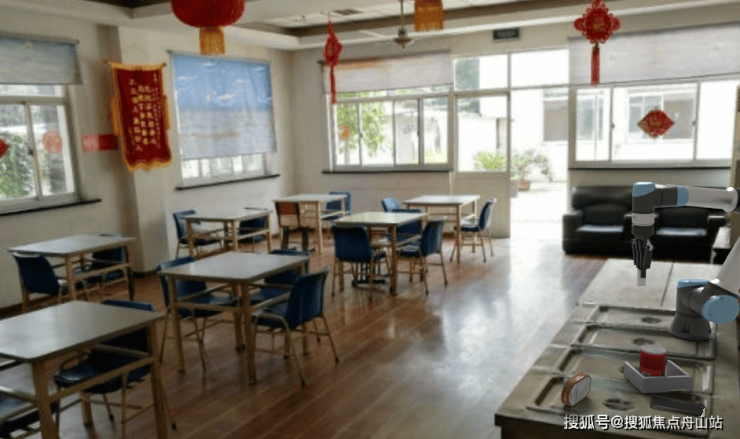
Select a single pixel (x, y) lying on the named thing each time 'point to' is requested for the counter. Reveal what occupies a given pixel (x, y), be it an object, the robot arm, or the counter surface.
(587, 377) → the tin
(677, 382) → the box
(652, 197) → the robot arm
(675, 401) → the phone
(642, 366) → the canned food
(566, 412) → the counter surface
